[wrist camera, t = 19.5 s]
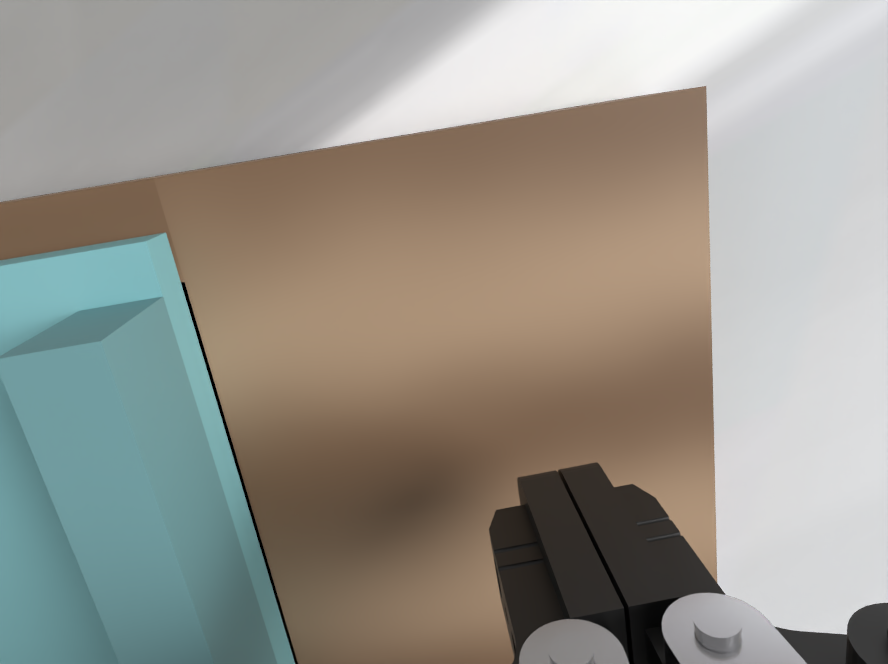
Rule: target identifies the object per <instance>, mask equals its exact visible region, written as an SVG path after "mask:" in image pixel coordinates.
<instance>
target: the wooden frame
mask: <svg viewBox="0 0 888 664" xmlns="http://www.w3.org/2000/svg"><path fill="white" fill-rule="evenodd" d="M160 233H166V234H167V238H168V241H169V244H170V248H171V251H172V254H173V258H174V261H175V264H176V268H177V271H178V274H179V278H180V281H181V282H185V285H186V289H187V292H188V295H189V299H190V302H191V306H192V309H193V312H194V316H195V319H196V322H197V326H198V329H199V332H200V336H201V339H202V343H203V346H204V349H205V353H206V356H207V359H208V363H209V366H210V369H211V373H212V376H213V379H214V383H215V386H216V390H217V393H218V396H219V400H220V403H221V406H222V410H223V413H224V416H225V420H226V423H227V427H228V430H229V433H230V437H231V440H232V443H233V447H234V450H235V453H236V457H237V460H238V464H239V467H240V470H241V474H242V477H243V480H244V484H245V487H246V490H247V494H248V497H249V500H250V504H251V507H252V511H253V514H254V517H255V521H256V524H257V527H258V531H259V534H260V537H261V541H262V544H263V548H264V551H265V554H266V558H267V561H268V564H269V568H270V571H271V574H272V578H273V581H274V585H275V588H276V591H277V595H278V596H275V598H276V602H277V605H278V608H279V612H280V615H281V618H282V622H283V625H284V628H285V632H286V635H287V638H288V642H289V645H290V648H291V652H292V655H293V658H294V662H295V664H512V663H513V661H514V655H513V650H512V646H511V641H510V637H509V633H508V629H507V624H506V620H505V616H504V611H503V607H502V603H501V598H500V593H499V587H498V581H497V575H496V569H495V563H494V557H493V552H492V546H491V540H490V534H489V528H490V525H491V522H492V519H493V517H494V514H495V511H496V510H498V509H504V508H509V507H514V506H519V505H520V498H519V492H518V484H517V478H518V477H522V476H528V475H533V474H538V473H544V472H549V471H554V470H556V471H557V472H558V470H559V469H564V468H569V467H574V466H580V465H585V464H590V463H596V462H597V463H599V465H600V466H601V467H602V469H603V471H604V472H605V474H606V475H607V477H608V479H609V480H610V482H611V483H612V485H613V487H618V486H623V485H629V484H634V485H636V486H637V487H639V488H640V489H642V490H644V491H645V492H647V493H649V494H650V495H652V496H654V497H655V498H656V499H657V501H658V502H659V503H660V505H661V506H662V507H663V509H664V510H665V512H666V513H667V514H668V516H669V519H670V520H672V521H673V523H674V524H675V525H676V527H677V528H678V530H679V531H680V534H681V536H683V537H684V538H685V539H686V541H687V542H688V544H689V545H690V546H691V548H692V549H693V550H694V552H695V553H696V555H697V556H698V557H699V559H700V560H701V562H702V563H703V564H704V566H705V567H706V568H707V570H708V571H709V573H710V574H711V575H712V577H713V578H714V580H715V581H716V582H717V557H716V512H715V466H714V421H713V375H712V330H711V285H710V239H709V194H708V148H707V103H706V86H704V87H697V88H690V89H683V90H676V91H669V92H663V93H656V94H649V95H642V96H636V97H630V98H624V99H618V100H612V101H606V102H600V103H594V104H588V105H582V106H576V107H570V108H564V109H558V110H552V111H546V112H540V113H534V114H528V115H522V116H516V117H510V118H504V119H498V120H492V121H486V122H480V123H474V124H468V125H462V126H456V127H450V128H444V129H438V130H432V131H426V132H420V133H414V134H408V135H401V136H395V137H389V138H383V139H377V140H371V141H365V142H359V143H353V144H347V145H341V146H335V147H329V148H323V149H317V150H311V151H305V152H299V153H293V154H287V155H281V156H275V157H269V158H263V159H257V160H251V161H245V162H239V163H233V164H227V165H221V166H215V167H209V168H203V169H197V170H191V171H185V172H179V173H173V174H167V175H161V176H155V177H149V178H143V179H137V180H131V181H125V182H119V183H113V184H107V185H101V186H95V187H89V188H83V189H76V190H70V191H64V192H58V193H52V194H46V195H40V196H34V197H28V198H22V199H16V200H10V201H4V202H0V260H6V259H11V258H17V257H23V256H29V255H35V254H41V253H47V252H53V251H59V250H65V249H71V248H77V247H83V246H89V245H95V244H101V243H106V242H112V241H118V240H124V239H130V238H136V237H142V236H148V235H154V234H160Z"/></svg>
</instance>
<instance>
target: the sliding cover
mask: <svg viewBox="0 0 888 664" xmlns="http://www.w3.org/2000/svg"><path fill="white" fill-rule="evenodd" d="M0 664H295V662H294V658H293V655H292V652H291V648H290V645H289V642H288V638H287V635H286V632H285V628H284V625H283V622H282V618H281V615H280V612H279V608H278V605H277V602H276V598H275V595H274V592H273V588H272V585H271V582H270V578H269V575H268V572H267V568H266V565H265V562H264V558H263V555H262V552H261V548H260V545H259V542H258V538H257V535H256V532H255V528H254V525H253V522H252V518H251V515H250V512H249V508H248V505H247V502H246V498H245V495H244V492H243V488H242V485H241V481H240V478H239V475H238V471H237V468H236V465H235V461H234V458H233V455H232V451H231V448H230V445H229V441H228V438H227V435H226V431H225V428H224V425H223V421H222V418H221V415H220V411H219V408H218V405H217V401H216V398H215V395H214V391H213V388H212V385H211V381H210V378H209V375H208V371H207V368H206V365H205V361H204V358H203V355H202V351H201V348H200V345H199V341H198V338H197V335H196V331H195V328H194V325H193V321H192V318H191V315H190V311H189V308H188V305H187V301H186V298H185V295H184V291H183V288H182V284H181V281H180V278H179V274H178V271H177V268H176V264H175V261H174V258H173V254H172V251H171V248H170V244H169V241H168V238H167V234H166V233H160V234H154V235H148V236H142V237H136V238H130V239H124V240H118V241H112V242H106V243H101V244H95V245H89V246H83V247H77V248H71V249H65V250H59V251H53V252H47V253H41V254H35V255H29V256H23V257H17V258H11V259H6V260H0Z"/></svg>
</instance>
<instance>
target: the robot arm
mask: <svg viewBox="0 0 888 664" xmlns="http://www.w3.org/2000/svg"><path fill="white" fill-rule="evenodd" d="M517 484H518V492H519V498H520V505H519V506H514V507H509V508H504V509H498V510H496V511H495V514H494V517H493V519H492V522H491V525H490V528H489V534H490V540H491V546H492V552H493V557H494V563H495V569H496V575H497V581H498V587H499V593H500V598H501V603H502V607H503V611H504V616H505V620H506V624H507V629H508V633H509V637H510V641H511V646H512V650H513V655H514V661H513V663H512V664H888V603H879V604H873V605H869V606H866V607H863V608H861V609H859V610H858V611H857V612H855V613H854V614H853V615H852V617H851V618H850V620H849V622H848V627H847V635H844V634H830V633H816V632H802V631H793V630H787V629H782V628H778V627H775V626H773V625H772V624H771V623H770V621H769V620H768V619H767V618H766V617H765V616H764V615H763V614H762V613H761V612H760V611H758V610H757V609H756V608H754V607H753V606H751V605H749V604H748V603H746V602H744V601H742V600H739V599H737V598H734V597H731V596H728V595H725V593H724V592H723V591H722V589H721V588H720V586H719V585H718V584H717V582H716V581H715V580H714V578H713V577H712V575H711V574H710V573H709V571H708V570H707V568H706V567H705V566H704V564H703V563H702V562H701V560H700V559H699V557H698V556H697V555H696V553H695V552H694V550H693V549H692V548H691V546H690V545H689V544H688V542H687V541H686V539H685V538H684V537H683V536H681V534H680V531H679V530H678V528H677V527H676V525H675V524H674V523H673V521H672V520H670V519H669V516H668V514H667V513H666V512H665V510H664V509H663V507H662V506H661V505H660V503H659V502H658V501H657V499H656V498H655V497H654V496H652V495H650V494H649V493H647V492H645V491H644V490H642V489H640V488H639V487H637V486H636V485H634V484H629V485H623V486H618V487H613V485H612V483H611V482H610V480H609V479H608V477H607V475H606V474H605V472H604V471H603V469H602V467H601V466H600V465H599V463H597V462H596V463H590V464H585V465H580V466H574V467H569V468H564V469H559V470H558V472H557V471H556V470H554V471H549V472H544V473H538V474H533V475H528V476H522V477H518V478H517Z"/></svg>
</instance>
